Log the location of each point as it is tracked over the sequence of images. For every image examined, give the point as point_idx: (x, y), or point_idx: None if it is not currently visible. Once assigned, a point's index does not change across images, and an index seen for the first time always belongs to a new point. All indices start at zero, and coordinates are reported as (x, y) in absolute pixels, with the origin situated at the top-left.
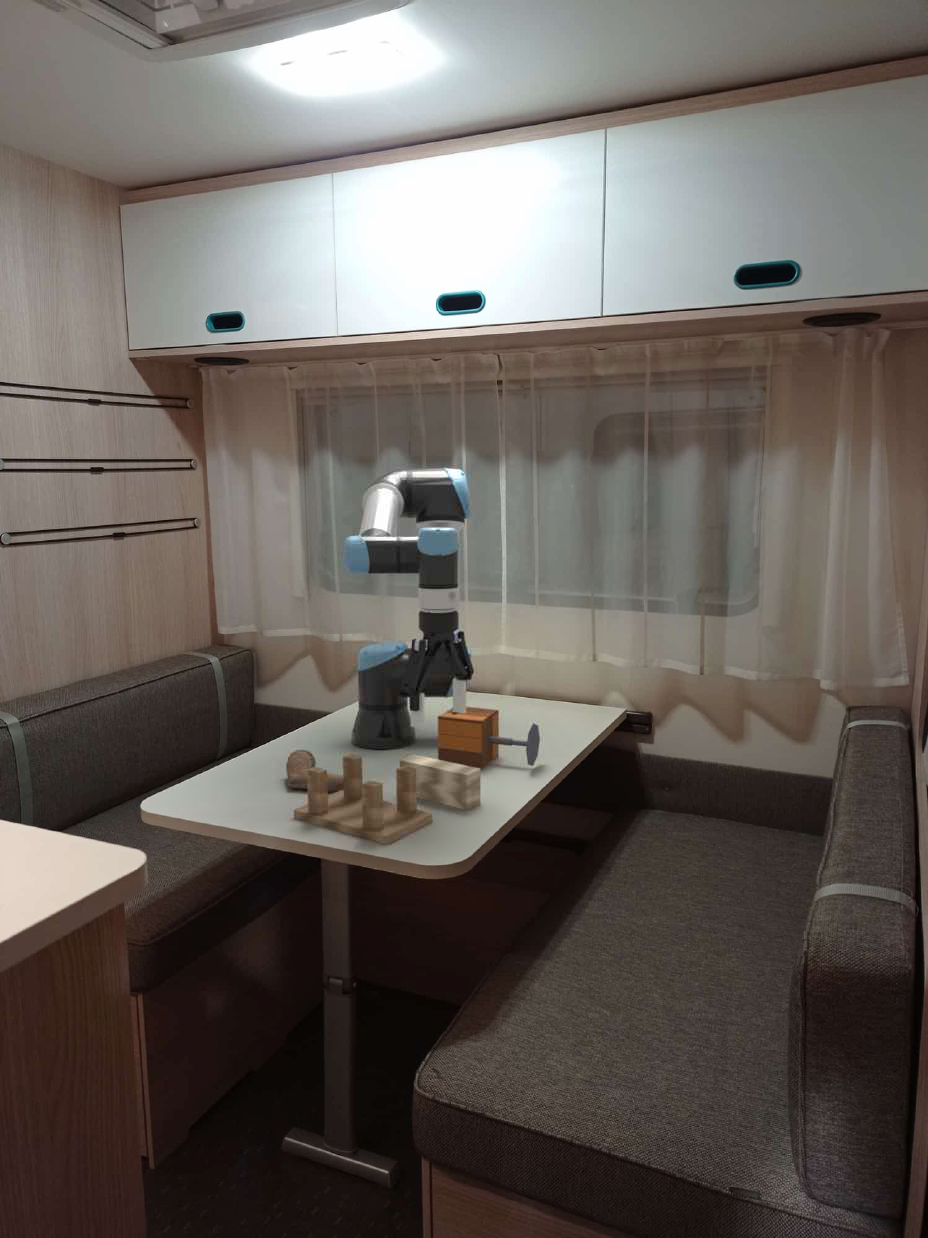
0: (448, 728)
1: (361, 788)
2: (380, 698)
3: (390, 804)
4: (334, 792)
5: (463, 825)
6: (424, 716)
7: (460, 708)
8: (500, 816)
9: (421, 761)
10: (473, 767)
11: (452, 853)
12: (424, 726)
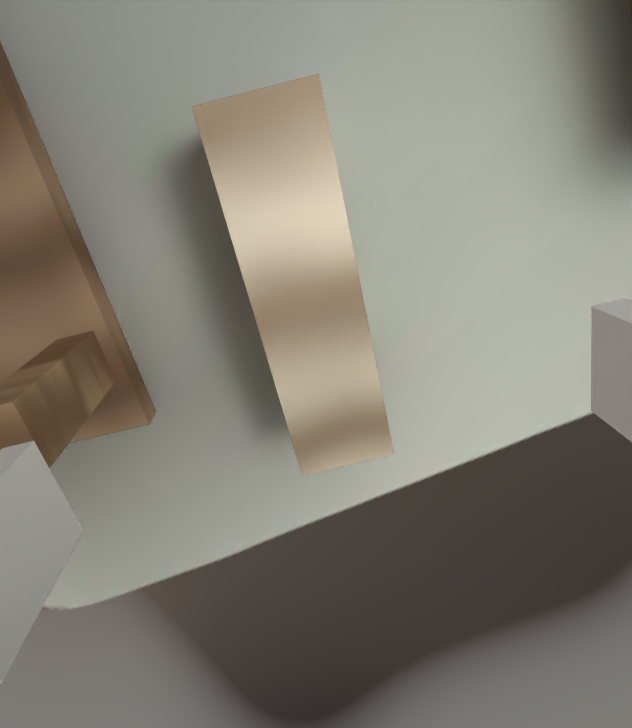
0: None
1: None
2: None
3: (65, 273)
4: None
5: (211, 480)
6: (41, 605)
7: (617, 396)
8: (333, 493)
9: (271, 212)
10: (386, 428)
11: (83, 577)
12: (77, 537)
